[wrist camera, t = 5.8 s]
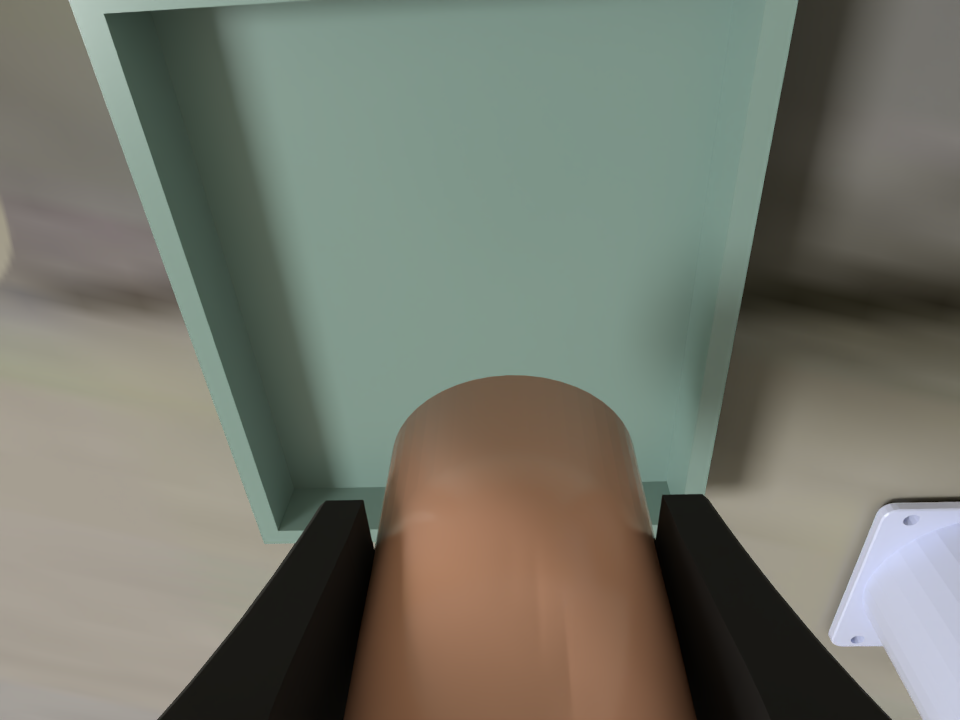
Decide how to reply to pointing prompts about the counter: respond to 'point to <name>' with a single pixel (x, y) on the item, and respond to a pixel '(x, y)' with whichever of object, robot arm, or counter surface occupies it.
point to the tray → (445, 212)
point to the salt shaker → (516, 567)
